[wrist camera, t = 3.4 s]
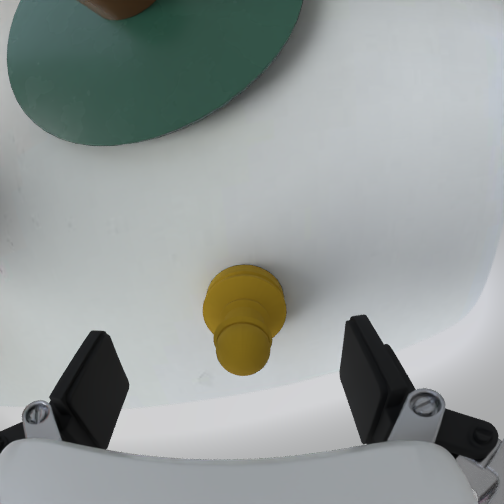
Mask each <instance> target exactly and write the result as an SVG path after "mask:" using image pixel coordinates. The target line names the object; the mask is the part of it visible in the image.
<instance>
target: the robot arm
mask: <svg viewBox="0 0 504 504" xmlns="http://www.w3.org/2000/svg"><path fill="white" fill-rule="evenodd" d="M340 380H341V383H342V385H343V388H344V391H345V394H346V397H347V400H348V403H349V406H350V409H351V412H352V415H353V417H354V421H355V424H356V427H357V430H358V433H359V435H360V439H361V442H362V443H363V444H367V445H362V446H356V447H350V448H344V449H339V450H332V451H326V452H319V453H311V454H303V455H295V456H285V457H274V458H260V459H234V460H206V459H205V460H204V459H203V460H202V459H181V458H167V457H156V456H146V455H137V454H130V453H123V452H117V451H111V450H106V449H107V447H108V445H109V442H110V439H111V436H112V433H113V430H114V428H115V425H116V422H117V419H118V416H119V414H120V411H121V408H122V406H123V403H124V400H125V398H126V395H127V392H128V390H129V382H128V379H127V377H126V374H125V372H124V370H123V367H122V365H121V363H120V360H119V358H118V355H117V353H116V350H115V348H114V345H113V343H112V340H111V338H110V336H109V335H108V334H106V332H105V331H91V332H90V333H89V334H88V336H87V337H86V339H85V340H84V342H83V343H82V345H81V346H80V348H79V350H78V351H77V353H76V354H75V356H74V357H73V359H72V360H71V362H70V364H69V365H68V367H67V368H66V370H65V372H64V373H63V375H62V376H61V378H60V380H59V381H58V383H57V385H56V386H55V388H54V390H53V391H52V393H51V395H50V396H49V398H50V399H51V401H50V403H48V402H46V401H43V400H38V401H34V402H32V403H30V404H29V405H28V406H27V407H26V408H25V409H24V411H23V414H22V421H23V422H21V423H19V424H16V425H14V426H12V427H9V428H7V429H5V430H3V431H0V504H504V439H503V441H501V440H500V439H498V433H497V430H496V429H495V427H494V426H493V425H492V424H491V423H489V422H486V421H483V420H480V419H477V418H473V417H470V416H467V415H464V414H460V413H457V412H454V411H451V410H448V409H445V401H444V399H443V397H442V396H441V395H440V394H439V393H438V392H436V391H434V390H431V389H426V388H423V389H417V390H416V389H415V388H414V386H413V384H412V382H411V381H410V379H409V377H408V375H407V374H406V372H405V370H404V368H403V367H402V365H401V363H400V362H399V360H398V358H397V357H396V355H395V353H394V352H393V350H392V348H391V347H390V346H389V345H388V344H385V345H384V344H383V342H382V341H381V339H380V337H379V336H378V334H377V332H376V331H375V329H374V327H373V326H372V324H371V322H370V321H369V319H368V317H367V316H366V315H358V316H352V317H351V318H350V320H349V321H346V324H345V333H344V342H343V350H342V358H341V365H340ZM472 489H473V490H474V491H476V493H477V496H478V502H477V499H476V497H475V495H474V493H473V490H472Z"/></svg>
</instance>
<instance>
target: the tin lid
mask: <svg viewBox="0 0 504 504" xmlns="http://www.w3.org/2000/svg"><path fill="white" fill-rule="evenodd" d="M302 3H303V0H21V1H20V3H19V5H18V8H17V10H16V13H15V15H14V18H13V22H12V25H11V29H10V33H9V39H8V46H7V67H8V75H9V79H10V84H11V88H12V90H13V92H14V95H15V97H16V100H17V101H18V103H19V105H20V106H21V108H22V109H23V111H24V112H25V113H26V115H27V116H28V117H29V118H30V119H31V120H32V121H33V122H34V123H35V124H36V125H38V126H39V127H40V128H42V129H43V130H44V131H46V132H48V133H50V134H52V135H54V136H56V137H58V138H60V139H63V140H66V141H69V142H73V143H76V144H84V145H91V146H116V145H123V144H131V143H138V142H142V141H146V140H150V139H154V138H158V137H161V136H164V135H166V134H169V133H172V132H175V131H178V130H180V129H183V128H185V127H187V126H189V125H191V124H193V123H195V122H197V121H199V120H201V119H203V118H205V117H206V116H208V115H210V114H211V113H213V112H215V111H216V110H218V109H220V108H221V107H223V106H225V105H226V104H227V103H228V102H230V101H231V100H232V99H234V98H235V97H236V96H238V95H239V94H241V93H242V92H243V91H244V90H245V89H247V88H248V87H249V86H250V85H251V84H252V83H253V82H254V81H255V80H256V79H257V78H258V77H260V76H261V75H262V73H263V72H264V71H265V70H266V69H267V68H268V66H269V65H270V64H271V63H272V62H273V61H274V60H275V58H276V57H277V56H278V54H279V53H280V51H281V50H282V48H283V47H284V45H285V44H286V42H287V41H288V39H289V37H290V35H291V33H292V30H293V28H294V26H295V24H296V22H297V20H298V17H299V13H300V10H301V6H302Z"/></svg>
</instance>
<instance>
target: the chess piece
mask: <svg viewBox="0 0 504 504" xmlns="http://www.w3.org/2000/svg"><path fill="white" fill-rule="evenodd" d="M286 313H287V311H286V304H285V301H284V295H283V291H282V288H281V285H280V284H279V282H278V280H277V279H276V278H275V277H274V276H273V275H272V274H271V273H269V272H268V271H267V270H264V269H262V268H260V267H257V266H253V265H236V266H233V267H229V268H227V269H225V270H223V271H221V272H220V273H219V274H218V275H216V276H215V278H214V279H213V280H212V281H211V283H210V285H209V287H208V291H207V295H206V298H205V300H204V304H203V317H204V321H205V323H206V325H207V327H208V328H209V330H210V331H211V332H212V333H213V334H214V345H215V347H216V354H217V358H218V360H219V362H220V364H221V365H222V366H223V368H224V369H226V370H227V371H228V372H230V373H232V374H235V375H239V376H247V375H252V374H254V373H256V372H258V371H260V370H261V369H262V368H263V367H264V366H265V364H266V363H267V361H268V359H269V356H270V347H271V345H272V338H273V337H274V336H275V335H276V334H277V333H278V332H279V331H280V330H281V328H282V327H283V325H284V322H285V319H286Z"/></svg>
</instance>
